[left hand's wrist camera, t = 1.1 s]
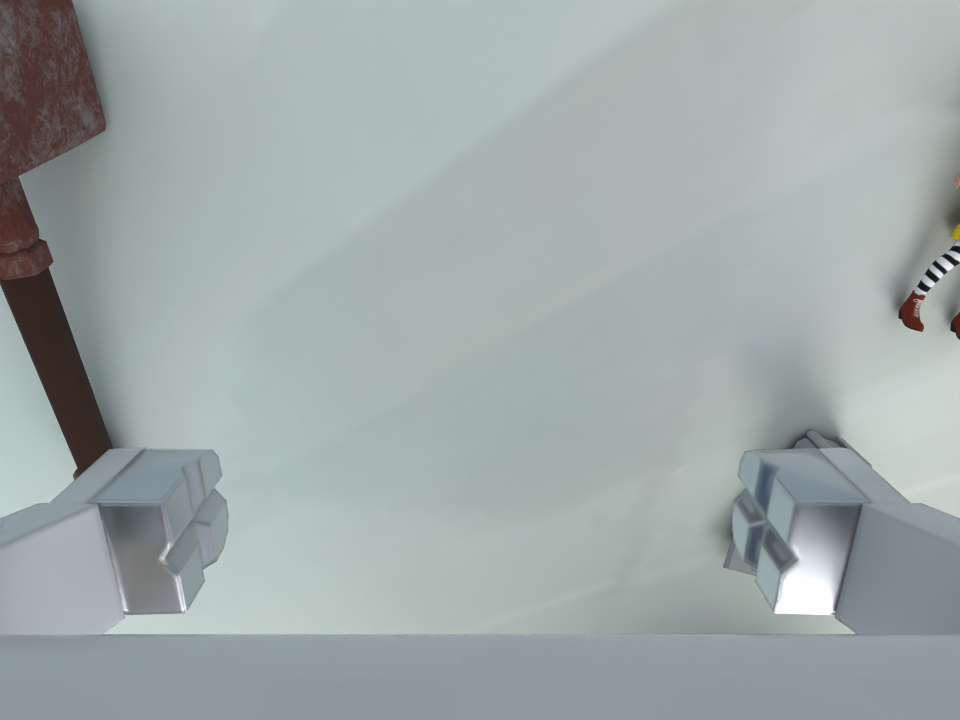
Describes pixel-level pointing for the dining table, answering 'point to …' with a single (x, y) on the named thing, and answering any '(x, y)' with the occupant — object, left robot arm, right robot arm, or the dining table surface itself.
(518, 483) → the dining table surface
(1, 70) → the sledgehammer
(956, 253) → the figurine
